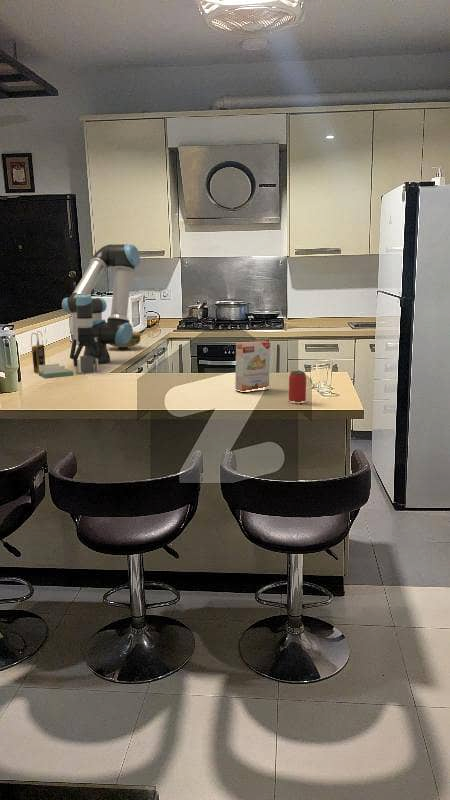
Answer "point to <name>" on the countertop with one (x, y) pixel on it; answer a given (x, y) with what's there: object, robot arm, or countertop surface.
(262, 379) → the cracker box
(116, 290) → the robot arm
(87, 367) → the plug
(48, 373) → the board
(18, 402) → the countertop surface
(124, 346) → the ceramic bowl
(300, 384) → the beer can
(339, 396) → the countertop surface
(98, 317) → the tall grey upright block
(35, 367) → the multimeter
